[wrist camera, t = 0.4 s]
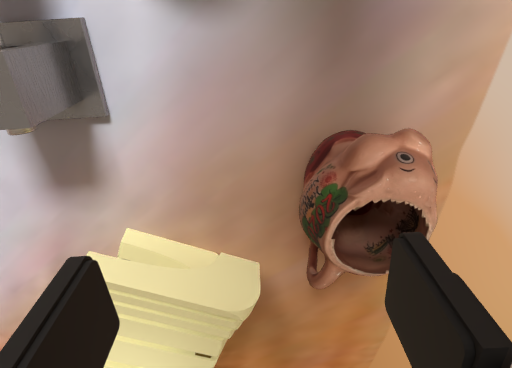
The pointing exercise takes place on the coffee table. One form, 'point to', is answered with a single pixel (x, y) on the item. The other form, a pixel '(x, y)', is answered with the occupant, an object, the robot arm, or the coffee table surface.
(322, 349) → the coffee table surface
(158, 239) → the slatted curved stool
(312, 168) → the decorative planter
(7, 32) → the grey square peg socket
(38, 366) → the robot arm
